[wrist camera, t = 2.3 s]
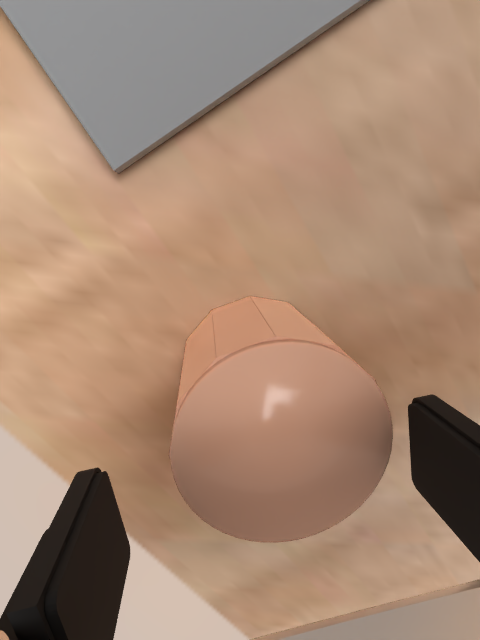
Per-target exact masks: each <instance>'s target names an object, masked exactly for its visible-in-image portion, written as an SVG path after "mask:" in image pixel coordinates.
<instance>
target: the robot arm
mask: <svg viewBox="0 0 480 640" xmlns="http://www.w3.org/2000/svg"><path fill="white" fill-rule="evenodd" d="M408 417H409V436H410V455H411V474H412V480H413V483H414V485H415V487H416V489H417V490H418V491H419V492H420V494H421V495H422V496H423V497H424V498H425V499H426V501H427V502H428V503H429V504H430V505H431V506H432V507H433V509H434V510H435V511H436V512H437V513H438V514H439V516H440V517H441V518H442V519H443V520H444V521H445V523H446V524H447V525H448V526H449V527H450V528H451V529H452V531H453V532H454V533H455V534H456V535H457V536H458V538H459V539H460V540H461V541H462V542H463V543H464V545H465V546H466V547H467V548H468V549H469V550H470V551H471V553H472V554H473V555H474V556H475V557H476V558H477V560H478V561H479V562H480V426H479V425H478V424H477V423H475V422H474V421H472V420H471V419H469V418H468V417H466V416H465V415H463V414H462V413H460V412H459V411H457V410H456V409H454V408H453V407H451V406H450V405H448V404H447V403H445V402H444V401H442V400H441V399H440V398H438V397H437V396H435V395H427V396H422V397H418V398H414V399H413V401H412V404H410V405H409V406H408ZM129 560H130V545H129V541H128V538H127V535H126V531H125V528H124V525H123V522H122V518H121V515H120V512H119V508H118V505H117V502H116V499H115V495H114V492H113V489H112V486H111V482H110V479H109V476H108V473H107V472H106V471H104V472H101V470H100V469H99V468H94V469H89V470H85V471H80V472H77V474H76V475H75V477H74V479H73V481H72V483H71V485H70V487H69V489H68V491H67V493H66V495H65V497H64V499H63V501H62V504H61V505H60V507H59V510H58V511H57V513H56V515H55V517H54V519H53V521H52V523H51V525H50V527H49V529H47V530H46V531H45V533H44V534H43V536H42V538H41V540H40V541H39V543H38V545H37V547H36V549H35V551H34V553H33V555H32V557H31V559H30V561H29V563H28V565H27V567H26V569H25V571H24V573H23V575H22V577H21V579H20V581H19V583H18V585H17V587H16V589H15V590H14V592H13V594H12V597H11V598H10V600H9V602H8V604H7V606H6V608H5V610H4V612H3V614H2V616H1V618H0V640H113V638H114V633H115V628H116V623H117V618H118V614H119V609H120V604H121V598H122V594H123V589H124V584H125V579H126V574H127V570H128V565H129ZM250 640H480V580H476V581H472V582H468V583H465V584H461V585H457V586H453V587H449V588H445V589H441V590H437V591H433V592H429V593H425V594H422V595H418V596H414V597H410V598H406V599H402V600H398V601H394V602H390V603H387V604H383V605H379V606H375V607H371V608H367V609H364V610H360V611H356V612H352V613H348V614H345V615H341V616H337V617H333V618H329V619H326V620H322V621H318V622H314V623H310V624H307V625H303V626H299V627H295V628H291V629H288V630H284V631H280V632H276V633H273V634H269V635H265V636H261V637H258V638H254V639H250Z"/></svg>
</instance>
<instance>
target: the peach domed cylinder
mask: <svg viewBox="0 0 480 640" xmlns="http://www.w3.org/2000/svg"><path fill="white" fill-rule="evenodd" d="M392 439H393V431H392V420H391V415H390V411H389V408H388V405H387V402H386V400H385V398H384V396H383V394H382V392H381V390H380V388H379V387H378V386H377V383H376V380H375V379H374V378H373V377H372V376H371V375H370V374H369V373H368V372H366V371H365V370H364V369H363V368H362V367H361V366H360V365H359V364H358V363H356V362H355V361H354V360H353V359H352V358H351V357H350V356H349V355H348V354H347V353H345V352H344V351H343V350H342V349H341V348H340V347H339V346H338V345H337V344H335V343H334V342H333V341H332V340H331V339H330V338H329V337H328V336H327V335H325V334H324V333H323V332H322V331H321V330H320V329H319V328H318V327H317V326H315V325H314V324H313V323H312V322H311V321H310V320H308V319H307V318H306V317H305V316H304V315H303V314H301V313H300V312H299V311H298V310H297V309H296V308H294V307H293V306H292V305H291V304H290V303H288V302H284V301H277V300H271V299H265V298H259V297H253V296H248V297H245V298H243V299H240V300H237V301H234V302H232V303H229V304H226V305H224V306H221V307H218V308H216V309H213V310H211V311H210V313H209V314H208V315H207V316H206V317H205V319H204V320H203V321H202V322H201V323H200V324H199V326H198V327H197V328H196V329H195V330H194V332H193V333H192V334H191V335H190V336H189V338H188V339H187V340H186V346H185V353H184V359H183V366H182V372H181V379H180V385H179V392H178V399H177V405H176V412H175V418H174V425H173V432H172V438H171V445H170V451H169V458H170V460H171V467H172V472H173V476H174V480H175V482H176V485H177V487H178V490H179V492H180V493H181V495H182V497H183V498H184V500H185V502H186V503H187V504H188V505H189V507H190V508H191V509H192V510H193V511H194V512H195V513H196V514H197V515H198V516H199V517H200V518H201V519H202V520H204V521H205V522H206V523H208V524H209V525H211V526H212V527H214V528H216V529H218V530H220V531H221V532H223V533H226V534H228V535H231V536H234V537H236V538H241V539H245V540H249V541H257V542H284V541H292V540H297V539H302V538H305V537H308V536H312V535H315V534H317V533H320V532H322V531H324V530H326V529H329V528H330V527H332V526H334V525H336V524H338V523H339V522H341V521H342V520H344V519H345V518H346V517H348V516H349V515H351V514H352V513H353V512H354V511H355V510H356V509H357V508H359V507H360V506H361V505H362V504H363V503H364V501H365V500H366V499H367V498H368V497H369V496H370V495H371V493H372V492H373V490H374V489H375V488H376V486H377V485H378V483H379V481H380V479H381V478H382V476H383V474H384V471H385V469H386V466H387V464H388V461H389V457H390V453H391V448H392Z"/></svg>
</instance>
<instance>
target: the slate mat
mask: <svg viewBox="0 0 480 640" xmlns="http://www.w3.org/2000/svg"><path fill="white" fill-rule="evenodd" d="M368 1H370V0H0V7H1V8H2V9H3V11H4V12H5V14H6V15H7V17H8V18H9V20H10V21H11V22H12V24H13V25H14V27H15V28H16V30H17V31H18V33H19V34H20V36H21V37H22V38H23V40H24V41H25V43H26V44H27V46H28V47H29V49H30V50H31V52H32V53H33V54H34V56H35V57H36V59H37V60H38V62H39V63H40V65H41V66H42V67H43V69H44V70H45V72H46V73H47V75H48V76H49V78H50V79H51V81H52V82H53V83H54V85H55V86H56V88H57V89H58V91H59V92H60V94H61V95H62V96H63V98H64V99H65V101H66V102H67V104H68V105H69V107H70V108H71V110H72V111H73V112H74V114H75V115H76V117H77V118H78V120H79V121H80V123H81V124H82V126H83V127H84V128H85V130H86V131H87V133H88V134H89V136H90V137H91V139H92V140H93V141H94V143H95V144H96V146H97V147H98V149H99V150H100V152H101V153H102V155H103V156H104V157H105V159H106V160H107V162H108V163H109V165H110V166H111V168H112V169H113V170H114V171H115V172H117V173H118V174H119V173H120V172H121V171H123V170H124V169H126V168H127V167H129V166H130V165H132V164H133V163H135V162H136V161H137V160H139V159H140V158H142V157H143V156H145V155H146V154H148V153H149V152H150V151H152V150H153V149H155V148H156V147H158V146H159V145H161V144H162V143H164V142H165V141H166V140H168V139H169V138H171V137H172V136H174V135H175V134H177V133H178V132H180V131H181V130H182V129H184V128H185V127H187V126H188V125H190V124H191V123H193V122H194V121H195V120H197V119H198V118H200V117H201V116H203V115H204V114H206V113H207V112H209V111H210V110H211V109H213V108H214V107H216V106H217V105H219V104H220V103H222V102H223V101H225V100H226V99H227V98H229V97H230V96H232V95H233V94H235V93H236V92H238V91H239V90H240V89H242V88H243V87H245V86H246V85H248V84H249V83H251V82H252V81H254V80H255V79H256V78H258V77H259V76H261V75H262V74H264V73H265V72H267V71H268V70H270V69H271V68H272V67H274V66H275V65H277V64H278V63H280V62H281V61H283V60H284V59H285V58H287V57H288V56H290V55H291V54H293V53H294V52H296V51H297V50H299V49H300V48H301V47H303V46H304V45H306V44H307V43H309V42H310V41H312V40H313V39H315V38H316V37H317V36H319V35H320V34H322V33H323V32H325V31H326V30H328V29H329V28H330V27H332V26H333V25H335V24H336V23H338V22H339V21H341V20H342V19H344V18H345V17H346V16H348V15H349V14H351V13H352V12H354V11H355V10H357V9H358V8H359V7H361V6H362V5H364V4H365V3H367V2H368Z"/></svg>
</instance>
